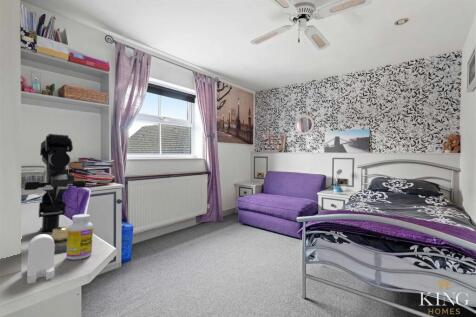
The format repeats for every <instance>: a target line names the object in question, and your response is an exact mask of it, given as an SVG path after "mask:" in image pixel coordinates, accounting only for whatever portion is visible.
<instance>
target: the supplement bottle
mask: <svg viewBox="0 0 476 317" xmlns="http://www.w3.org/2000/svg"><path fill="white" fill-rule="evenodd" d="M71 218H72V220H71V221H72V223H70V224H69V225H68V238H67V251H66V259H67V260H72V261H78V260H83V259H86V258H89V257H90V256H91V255H92V252H93V251H92V250H93V234H94V233H93V232H94V231H93V230H94V225H93V223H92V222H90V219H91V215H90V214H88V213H80V214H74V215H72V217H71Z"/></svg>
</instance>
